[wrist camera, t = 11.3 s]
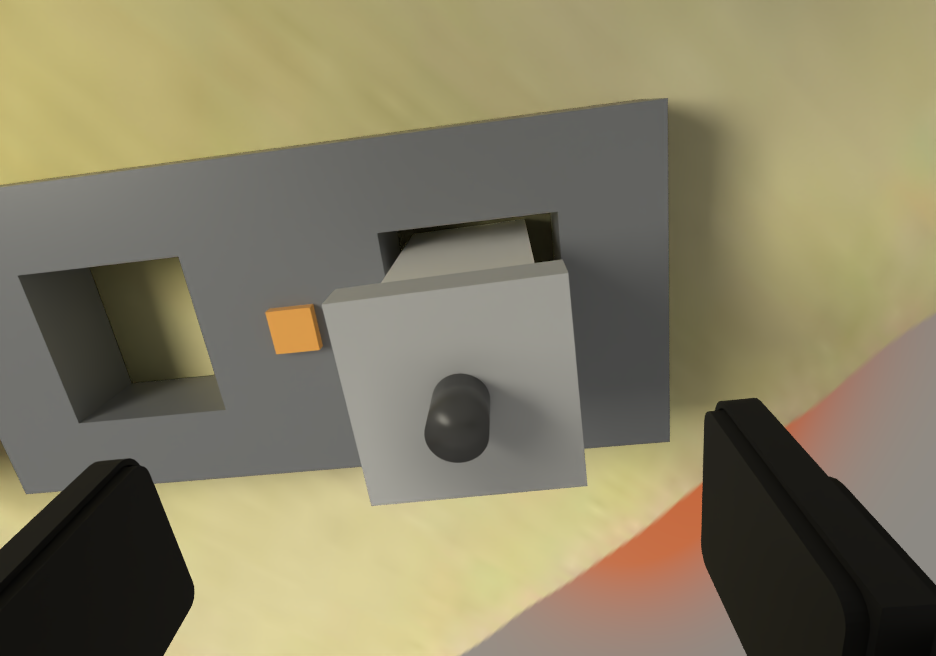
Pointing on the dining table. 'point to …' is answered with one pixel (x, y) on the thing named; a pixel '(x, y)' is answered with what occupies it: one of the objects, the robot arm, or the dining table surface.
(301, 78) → the dining table surface
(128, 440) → the socket block
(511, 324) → the plug
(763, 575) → the robot arm
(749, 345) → the dining table surface
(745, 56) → the dining table surface
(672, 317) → the dining table surface
